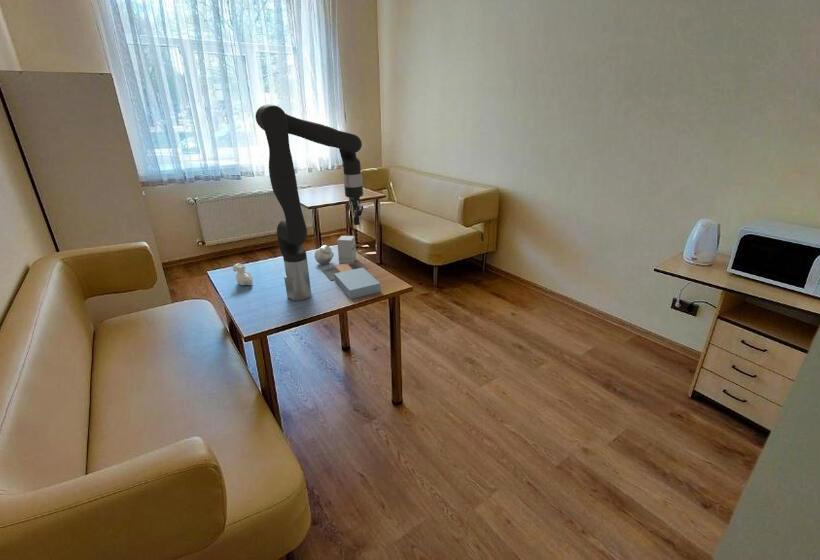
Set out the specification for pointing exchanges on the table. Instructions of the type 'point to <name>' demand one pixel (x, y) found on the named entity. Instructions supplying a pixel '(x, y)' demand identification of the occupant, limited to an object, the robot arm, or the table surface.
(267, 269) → the table surface
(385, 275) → the table surface
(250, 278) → the duck figurine
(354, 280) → the block
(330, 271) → the mat
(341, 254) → the supplement box
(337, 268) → the tan rectangular block
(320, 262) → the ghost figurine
